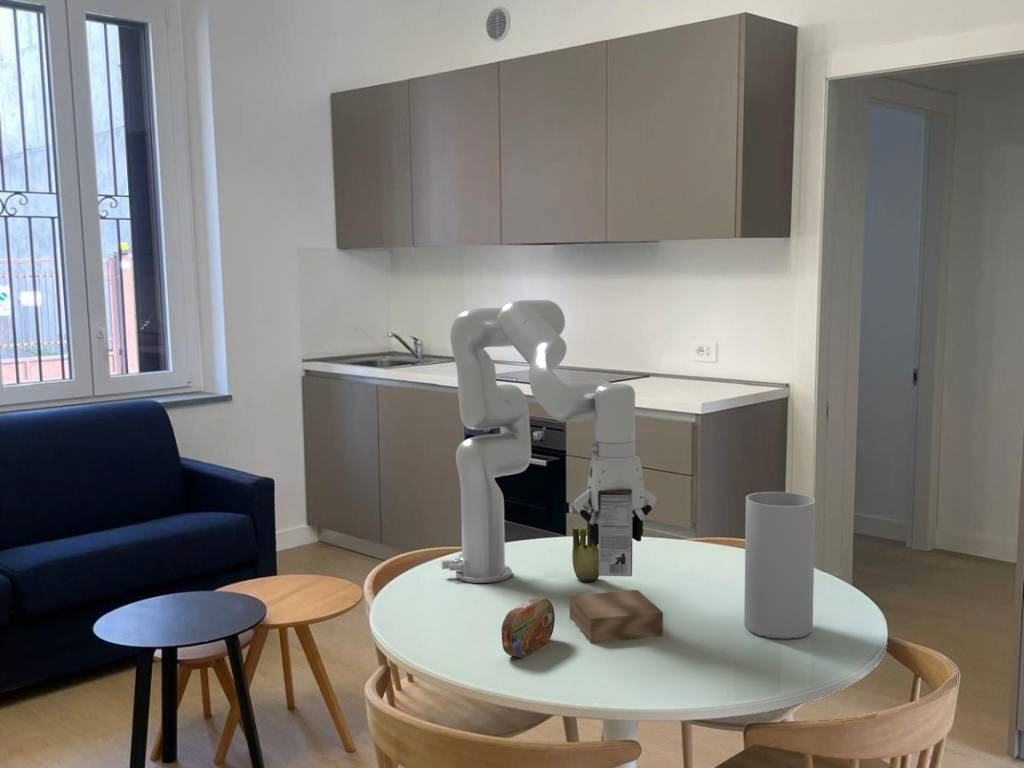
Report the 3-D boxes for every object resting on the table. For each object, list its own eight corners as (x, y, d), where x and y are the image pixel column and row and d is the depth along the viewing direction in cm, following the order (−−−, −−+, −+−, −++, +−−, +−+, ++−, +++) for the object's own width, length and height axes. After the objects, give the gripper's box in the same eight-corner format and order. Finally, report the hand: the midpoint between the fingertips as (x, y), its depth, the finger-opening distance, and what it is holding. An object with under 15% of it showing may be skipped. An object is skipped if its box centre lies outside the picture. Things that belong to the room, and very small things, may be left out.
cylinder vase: (730, 623, 195) (732, 495, 193) (783, 614, 200) (786, 489, 198) (771, 644, 184) (774, 509, 181) (826, 634, 189) (829, 502, 186)
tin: (513, 664, 176) (513, 617, 175) (498, 661, 178) (497, 614, 177) (556, 637, 189) (556, 593, 188) (541, 634, 191) (541, 591, 190)
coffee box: (598, 562, 198) (598, 480, 196) (632, 563, 197) (631, 481, 195) (597, 576, 189) (597, 490, 187) (632, 576, 188) (632, 491, 186)
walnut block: (590, 645, 186) (590, 618, 185) (569, 620, 199) (569, 595, 199) (662, 638, 189) (662, 612, 188) (637, 614, 202) (637, 589, 202)
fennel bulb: (569, 579, 225) (569, 526, 223) (585, 575, 228) (585, 522, 227) (589, 585, 220) (588, 531, 219) (604, 580, 224) (604, 527, 222)
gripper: (577, 456, 185) (578, 550, 186) (666, 450, 189) (665, 542, 191) (564, 449, 192) (565, 540, 194) (650, 444, 196) (650, 533, 198)
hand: (615, 541), depth 192 cm, fingers closed on coffee box, 8 cm apart
